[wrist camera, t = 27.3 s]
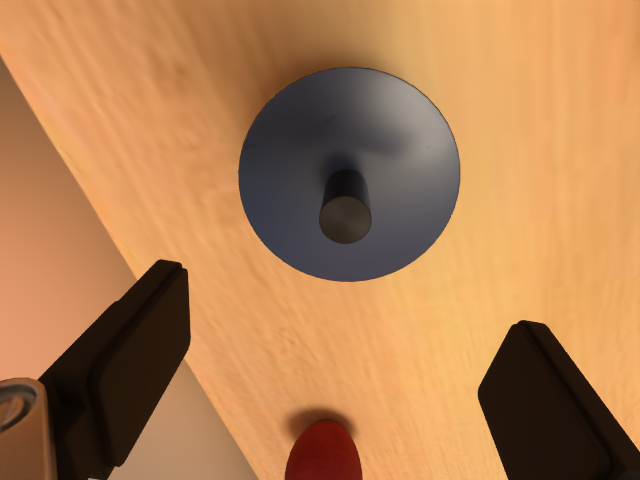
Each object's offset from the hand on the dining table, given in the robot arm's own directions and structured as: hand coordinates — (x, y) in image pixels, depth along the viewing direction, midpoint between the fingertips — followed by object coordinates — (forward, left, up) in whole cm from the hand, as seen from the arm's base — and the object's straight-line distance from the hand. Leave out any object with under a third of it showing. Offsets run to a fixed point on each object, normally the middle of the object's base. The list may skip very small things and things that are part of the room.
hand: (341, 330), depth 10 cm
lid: (+1, 0, -15) cm, 15 cm away
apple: (+38, +4, -24) cm, 45 cm away
